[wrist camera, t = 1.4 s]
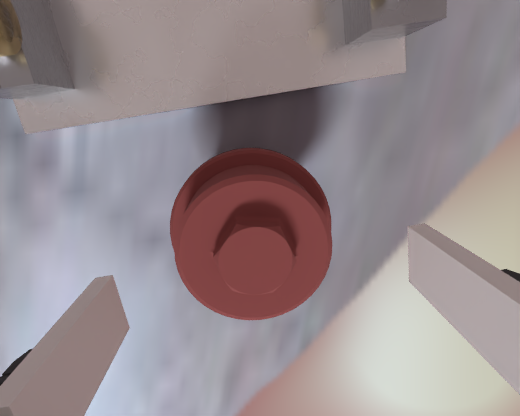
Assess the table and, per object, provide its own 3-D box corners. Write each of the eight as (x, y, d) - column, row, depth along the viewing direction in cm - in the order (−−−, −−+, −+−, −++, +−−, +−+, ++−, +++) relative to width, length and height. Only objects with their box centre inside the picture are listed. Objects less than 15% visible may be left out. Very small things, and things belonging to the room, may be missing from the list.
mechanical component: (187, 249, 29) (189, 134, 26) (299, 254, 30) (312, 143, 27) (153, 344, 17) (150, 153, 14) (339, 348, 18) (370, 168, 15)
